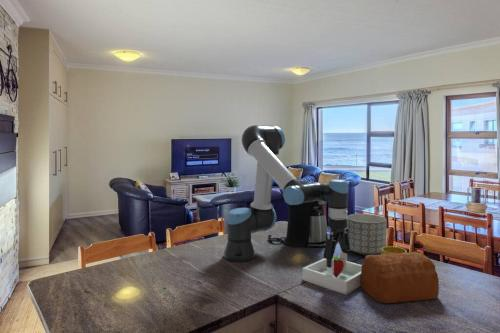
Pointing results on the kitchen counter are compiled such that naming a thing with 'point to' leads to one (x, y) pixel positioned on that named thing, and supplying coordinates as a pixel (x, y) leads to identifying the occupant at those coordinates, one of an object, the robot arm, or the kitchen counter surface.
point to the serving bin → (342, 283)
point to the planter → (366, 233)
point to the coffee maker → (305, 225)
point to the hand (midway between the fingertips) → (336, 271)
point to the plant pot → (392, 250)
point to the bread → (399, 277)
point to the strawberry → (338, 266)
